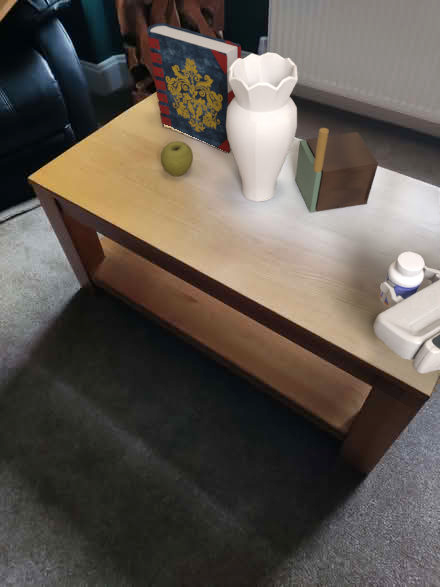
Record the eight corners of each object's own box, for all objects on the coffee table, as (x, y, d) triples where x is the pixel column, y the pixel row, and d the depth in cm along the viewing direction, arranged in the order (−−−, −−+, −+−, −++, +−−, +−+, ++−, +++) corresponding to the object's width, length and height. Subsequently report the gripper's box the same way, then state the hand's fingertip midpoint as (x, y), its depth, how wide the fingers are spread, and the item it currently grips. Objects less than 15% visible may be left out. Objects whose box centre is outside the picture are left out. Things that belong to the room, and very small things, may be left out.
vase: (275, 166, 108) (284, 43, 85) (299, 202, 100) (316, 77, 77) (220, 179, 106) (213, 57, 83) (240, 218, 98) (239, 93, 75)
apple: (200, 171, 109) (197, 146, 103) (174, 185, 106) (170, 160, 100) (182, 158, 112) (179, 133, 107) (157, 171, 109) (152, 146, 104)
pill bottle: (417, 305, 73) (438, 267, 65) (390, 315, 72) (407, 278, 64) (398, 282, 76) (415, 243, 68) (371, 292, 75) (386, 254, 67)
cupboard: (348, 172, 106) (357, 131, 97) (366, 204, 99) (378, 163, 90) (300, 179, 105) (306, 139, 96) (316, 211, 98) (323, 171, 89)
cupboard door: (301, 178, 105) (311, 100, 89) (316, 211, 98) (330, 132, 82) (293, 179, 105) (302, 101, 89) (308, 212, 97) (321, 133, 82)
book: (156, 125, 122) (139, 30, 103) (172, 114, 126) (159, 20, 106) (227, 154, 112) (224, 55, 93) (243, 141, 116) (242, 43, 96)
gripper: (527, 293, 63) (452, 236, 70) (424, 357, 57) (355, 288, 65) (507, 317, 68) (439, 261, 75) (410, 379, 62) (347, 312, 70)
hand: (399, 274), depth 70 cm, fingers closed on pill bottle, 5 cm apart
